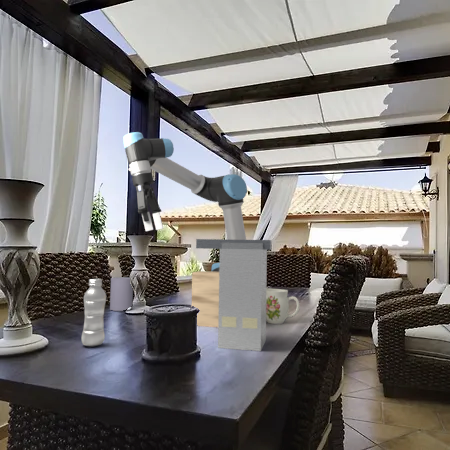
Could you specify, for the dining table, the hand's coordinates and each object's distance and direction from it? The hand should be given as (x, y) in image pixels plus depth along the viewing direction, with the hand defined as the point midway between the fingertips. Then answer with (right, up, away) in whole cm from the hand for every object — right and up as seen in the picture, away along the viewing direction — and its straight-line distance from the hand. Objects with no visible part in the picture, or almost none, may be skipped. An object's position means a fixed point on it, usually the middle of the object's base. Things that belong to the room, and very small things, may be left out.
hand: (154, 229), depth 141 cm
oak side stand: (+23, -37, +8) cm, 45 cm away
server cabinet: (+32, -36, -22) cm, 53 cm away
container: (-23, -39, +39) cm, 60 cm away
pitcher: (+48, -39, +15) cm, 63 cm away
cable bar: (+29, -6, -19) cm, 35 cm away
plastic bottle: (-14, -35, -26) cm, 46 cm away
